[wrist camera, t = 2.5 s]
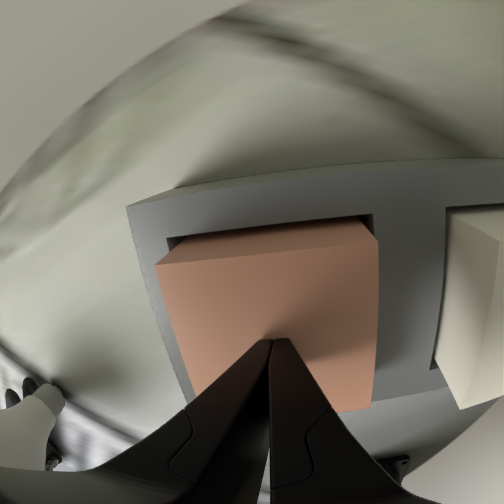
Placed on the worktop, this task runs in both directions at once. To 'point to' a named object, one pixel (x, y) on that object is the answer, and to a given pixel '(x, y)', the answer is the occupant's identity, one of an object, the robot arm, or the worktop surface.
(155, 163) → the worktop surface
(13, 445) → the lightbulb
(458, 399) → the cream key
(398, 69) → the worktop surface
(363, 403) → the terracotta key
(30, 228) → the worktop surface
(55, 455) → the can opener
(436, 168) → the keypad
